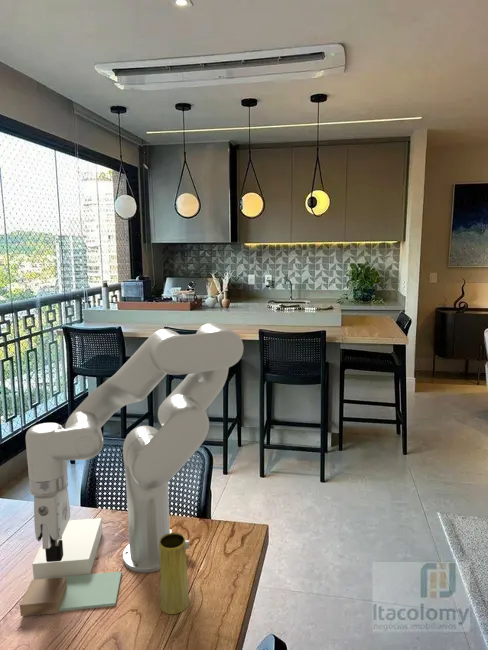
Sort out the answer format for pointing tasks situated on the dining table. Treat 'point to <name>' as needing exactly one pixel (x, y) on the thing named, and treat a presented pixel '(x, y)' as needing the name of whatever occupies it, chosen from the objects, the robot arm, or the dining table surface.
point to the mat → (91, 591)
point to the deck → (72, 551)
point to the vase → (173, 574)
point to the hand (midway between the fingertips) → (55, 559)
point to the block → (43, 596)
